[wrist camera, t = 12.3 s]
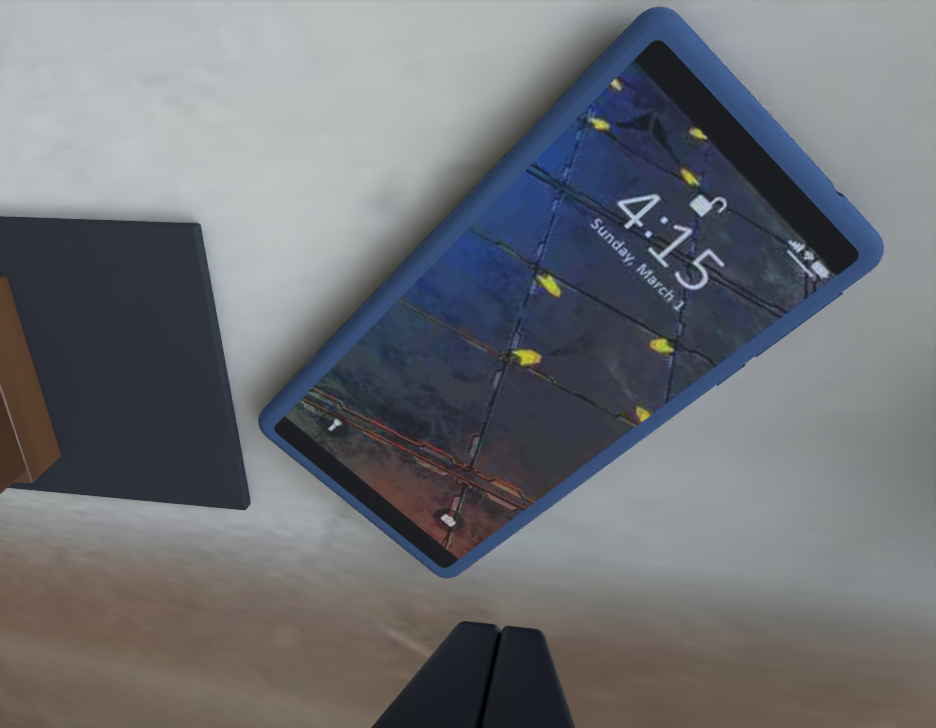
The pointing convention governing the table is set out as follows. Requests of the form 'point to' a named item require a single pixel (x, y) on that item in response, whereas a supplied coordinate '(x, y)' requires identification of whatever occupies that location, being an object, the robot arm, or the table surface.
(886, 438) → the table surface
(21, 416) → the brown picture frame
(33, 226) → the word mat
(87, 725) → the table surface
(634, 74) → the smartphone
